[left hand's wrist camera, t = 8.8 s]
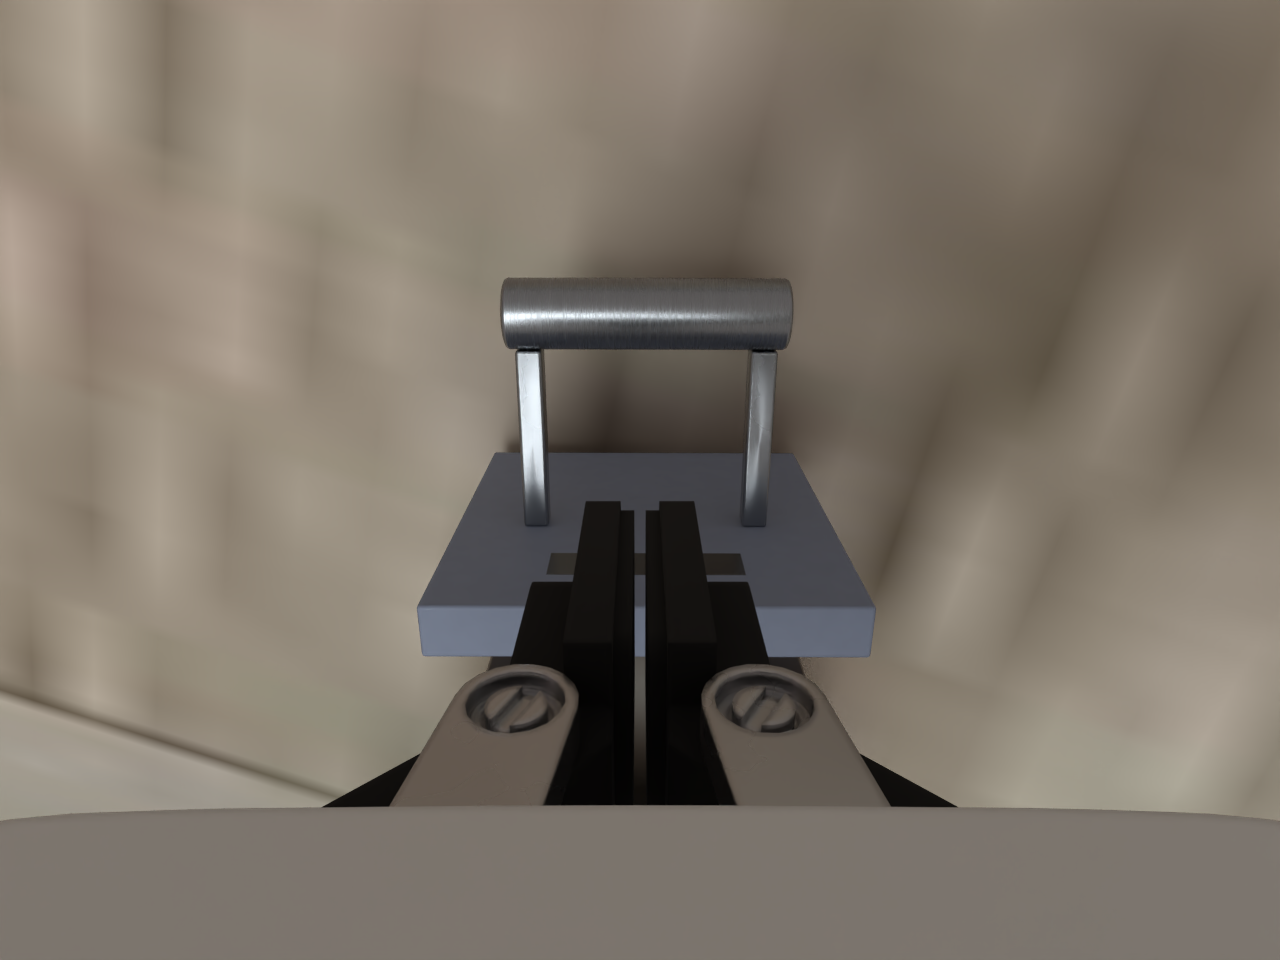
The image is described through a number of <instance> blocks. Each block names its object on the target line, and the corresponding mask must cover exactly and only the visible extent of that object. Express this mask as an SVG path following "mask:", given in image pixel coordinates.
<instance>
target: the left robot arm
mask: <svg viewBox="0 0 1280 960" xmlns="http://www.w3.org/2000/svg"><path fill="white" fill-rule="evenodd" d="M634 711H635V535H634V510H621V501H586V502H585V508H584V514H583V520H582V527H581V533H580V539H579V545H578V551H577V557H576V564H575V570H574V576H573V582H532V583H531V586H530V589H529V593H528V597H527V601H526V605H525V609H524V612H523V616H522V620H521V624H520V628H519V632H518V635H517V639H516V643H515V647H514V651H513V655H512V658H511V662H510V665H508V666H503V667H497V668H494V669H492V670H489V671H486V672H484V673H481V674H479V675H477V676H476V677H474V678H473V679H471V680H470V681H468V682H467V683H465V684H464V685H463V686H462V688H461V689H460V690H459V691H458V692H457V693H456V695H455V696H454V698H453V700H452V701H451V703H450V705H449V706H448V708H447V710H446V711H445V713H444V715H443V716H442V718H441V720H440V722H439V723H438V725H437V727H436V728H435V730H434V732H433V733H432V735H431V737H430V738H429V740H428V742H427V743H426V745H425V747H424V748H423V750H422V752H421V753H420V754H419V755H417V756H415V757H413V758H411V759H409V760H408V761H406V762H404V763H402V764H400V765H398V766H397V767H395V768H393V769H391V770H389V771H387V772H386V773H384V774H382V775H380V776H378V777H376V778H375V779H373V780H371V781H369V782H367V783H365V784H364V785H362V786H360V787H358V788H356V789H354V790H353V791H351V792H349V793H347V794H345V795H343V796H342V797H340V798H338V799H336V800H334V801H332V802H331V803H329V804H327V805H325V806H323V807H321V808H238V809H188V810H160V811H132V812H104V813H75V814H62V815H52V816H41V817H31V818H20V819H10V820H3V821H0V960H1280V821H1277V820H1270V819H1260V818H1249V817H1239V816H1228V815H1218V814H1205V813H1180V812H1151V811H1121V810H1091V809H1047V808H960V807H957V806H955V805H953V804H951V803H949V802H948V801H946V800H944V799H942V798H940V797H938V796H937V795H935V794H933V793H931V792H929V791H927V790H926V789H924V788H922V787H920V786H918V785H916V784H915V783H913V782H911V781H909V780H907V779H905V778H904V777H902V776H900V775H898V774H896V773H894V772H893V771H891V770H889V769H887V768H885V767H883V766H882V765H880V764H878V763H876V762H874V761H872V760H871V759H869V758H867V757H865V756H863V755H861V754H860V753H859V752H858V750H857V748H856V747H855V745H854V743H853V742H852V740H851V738H850V737H849V735H848V733H847V732H846V730H845V728H844V727H843V725H842V723H841V722H840V720H839V718H838V716H837V715H836V713H835V711H834V710H833V708H832V706H831V705H830V703H829V701H828V700H827V698H826V696H825V695H824V693H823V692H822V691H821V690H820V689H819V688H818V686H817V685H816V684H815V683H813V682H812V681H810V680H809V679H807V678H806V677H804V676H803V675H801V674H799V673H796V672H794V671H791V670H788V669H786V668H783V667H777V666H772V665H770V662H769V658H768V655H767V651H766V647H765V643H764V639H763V635H762V632H761V628H760V624H759V620H758V616H757V612H756V609H755V605H754V601H753V597H752V593H751V589H750V586H749V583H748V582H707V576H706V570H705V564H704V557H703V551H702V545H701V539H700V533H699V527H698V520H697V514H696V508H695V502H694V501H659V510H646V535H645V711H646V805H634Z"/></svg>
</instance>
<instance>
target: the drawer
mask: <svg viewBox="0 0 1280 960" xmlns="http://www.w3.org/2000/svg"><path fill="white" fill-rule="evenodd" d="M500 317H501V329H502V336H503V340H504V343H505V345H506V347H507V348H509V349H517V351H516V353H515V361H516V379H517V397H518V416H519V434H520V453H495V454H494V456H493V458H492V460H491V462H490V464H489V466H488V468H487V470H486V472H485V474H484V476H483V478H482V480H481V482H480V484H479V486H478V488H477V490H476V492H475V494H474V496H473V498H472V499H471V501H470V503H469V505H468V507H467V509H466V511H465V513H464V515H463V517H462V519H461V521H460V523H459V525H458V527H457V529H456V531H455V533H454V535H453V537H452V539H451V541H450V543H449V545H448V547H447V549H446V551H445V553H444V555H443V557H442V559H441V561H440V563H439V565H438V567H437V569H436V571H435V573H434V575H433V576H432V578H431V580H430V582H429V584H428V586H427V588H426V590H425V592H424V594H423V596H422V598H421V600H420V602H419V604H418V606H417V613H418V622H419V631H420V639H421V648H422V654H423V656H491V658H490V661H489V664H488V668H487V671H489V670H492V669H494V668H497V667H503V666H508V665H510V662H511V658H512V655H513V651H514V647H515V643H516V639H517V635H518V632H519V628H520V624H521V620H522V616H523V612H524V609H525V605H526V601H527V597H528V593H529V589H530V586H531V583H532V582H573V576H574V570H575V564H576V557H577V551H578V545H579V539H580V533H581V527H582V520H583V514H584V508H585V502H586V501H621V510H634V535H635V711H634V805H646V711H645V535H646V510H659V501H694V502H695V508H696V514H697V520H698V527H699V533H700V539H701V545H702V551H703V557H704V564H705V570H706V576H707V582H748V583H749V586H750V589H751V593H752V597H753V601H754V605H755V609H756V612H757V616H758V620H759V624H760V628H761V632H762V635H763V639H764V643H765V647H766V651H767V655H768V658H769V662H770V665H772V666H777V667H783V668H786V669H788V670H791V671H794V672H796V673H799V674H801V675H803V676H804V677H805V674H804V671H803V668H802V665H801V661H800V658H799V657H869V656H870V652H871V644H872V636H873V629H874V621H875V613H876V608H875V605H874V604H873V602H872V600H871V598H870V596H869V594H868V592H867V591H866V589H865V587H864V585H863V583H862V581H861V579H860V577H859V576H858V574H857V572H856V570H855V568H854V566H853V564H852V563H851V561H850V559H849V557H848V555H847V553H846V551H845V550H844V548H843V546H842V544H841V542H840V540H839V538H838V537H837V535H836V533H835V531H834V529H833V527H832V525H831V523H830V522H829V520H828V518H827V516H826V514H825V512H824V510H823V509H822V507H821V505H820V503H819V501H818V499H817V497H816V496H815V494H814V492H813V490H812V488H811V486H810V484H809V482H808V481H807V479H806V477H805V475H804V473H803V471H802V469H801V468H800V466H799V464H798V462H797V460H796V458H795V456H794V455H793V454H792V453H771V447H772V432H773V417H774V402H775V387H776V372H777V357H778V354H777V352H776V350H783V349H786V348H787V346H788V344H789V341H790V337H791V332H792V324H793V293H792V287H791V284H790V282H789V280H787V279H743V278H507V279H505V280H504V282H503V285H502V289H501V299H500ZM544 349H649V350H748V365H747V384H746V403H745V421H744V440H743V453H548V434H547V409H546V385H545V360H544Z"/></svg>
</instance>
